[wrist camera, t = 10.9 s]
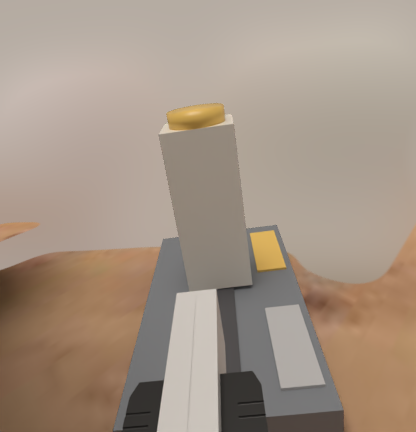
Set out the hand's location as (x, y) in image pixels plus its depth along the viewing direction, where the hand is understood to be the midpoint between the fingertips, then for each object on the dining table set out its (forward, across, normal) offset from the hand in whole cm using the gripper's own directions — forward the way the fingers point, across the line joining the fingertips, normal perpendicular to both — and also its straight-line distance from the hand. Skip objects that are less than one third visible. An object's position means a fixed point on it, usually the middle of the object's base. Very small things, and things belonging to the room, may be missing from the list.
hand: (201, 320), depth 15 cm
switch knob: (+15, 0, -8) cm, 17 cm away
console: (+13, 0, -10) cm, 16 cm away
